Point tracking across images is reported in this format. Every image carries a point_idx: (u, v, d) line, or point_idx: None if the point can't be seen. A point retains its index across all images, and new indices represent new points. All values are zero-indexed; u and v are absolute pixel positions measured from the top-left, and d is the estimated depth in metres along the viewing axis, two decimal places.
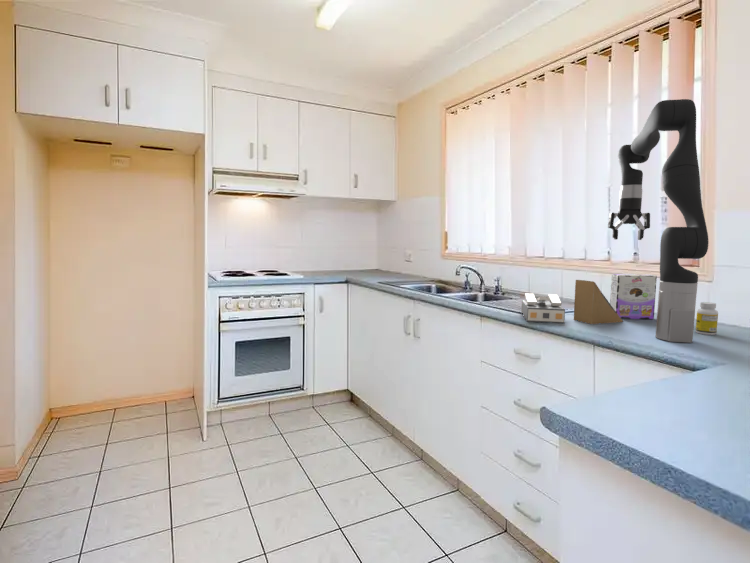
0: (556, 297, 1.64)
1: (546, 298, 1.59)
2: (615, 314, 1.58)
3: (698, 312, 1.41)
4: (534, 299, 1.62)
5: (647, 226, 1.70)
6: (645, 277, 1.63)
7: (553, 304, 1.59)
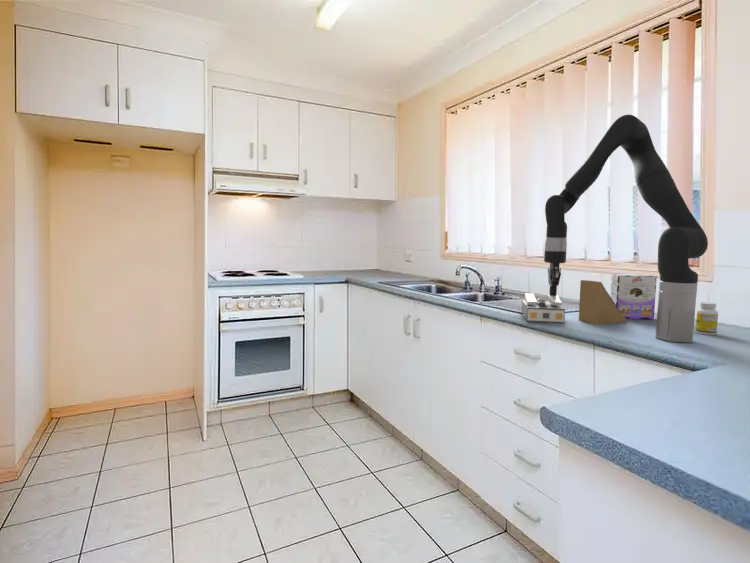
0: (556, 297, 1.64)
1: (546, 298, 1.59)
2: (619, 314, 1.58)
3: (698, 312, 1.41)
4: (534, 299, 1.62)
5: (555, 281, 1.69)
6: (645, 277, 1.63)
7: (553, 304, 1.59)
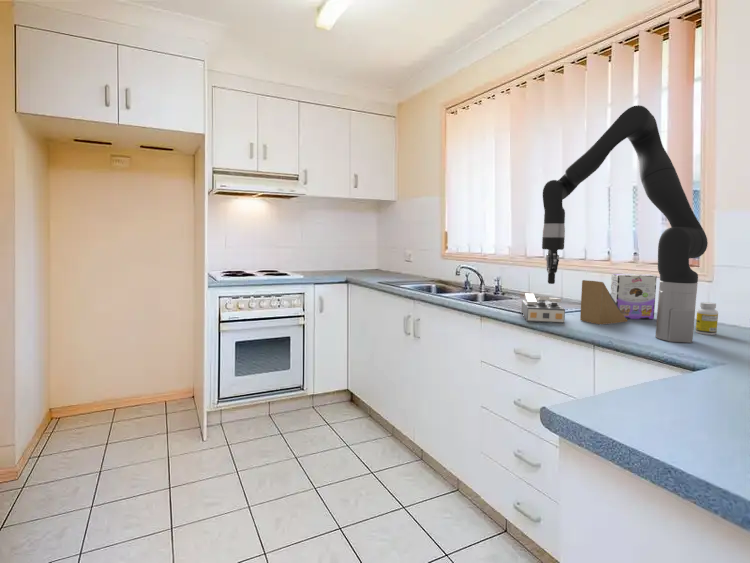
0: None
1: (546, 298, 1.59)
2: (621, 314, 1.58)
3: (698, 312, 1.41)
4: (534, 299, 1.62)
5: (554, 268, 1.65)
6: (645, 277, 1.63)
7: (553, 300, 1.59)
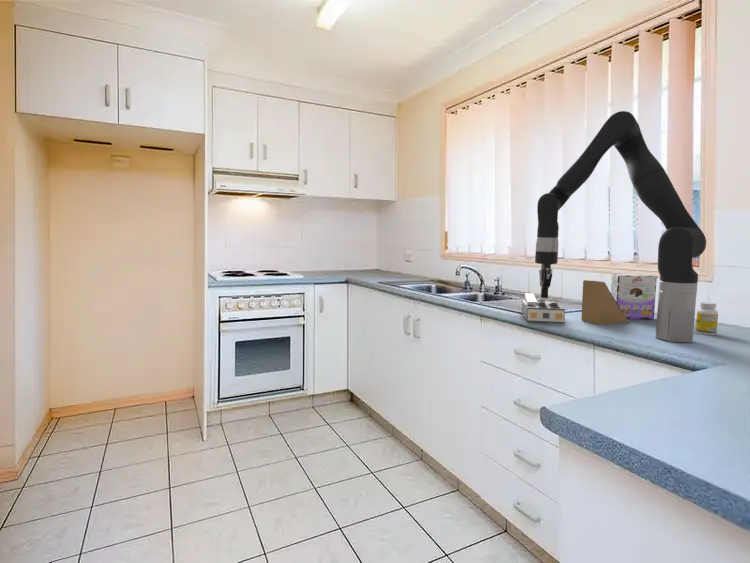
0: None
1: (546, 298, 1.59)
2: (622, 314, 1.58)
3: (698, 312, 1.41)
4: (534, 299, 1.62)
5: (547, 283, 1.62)
6: (645, 277, 1.63)
7: (553, 299, 1.59)
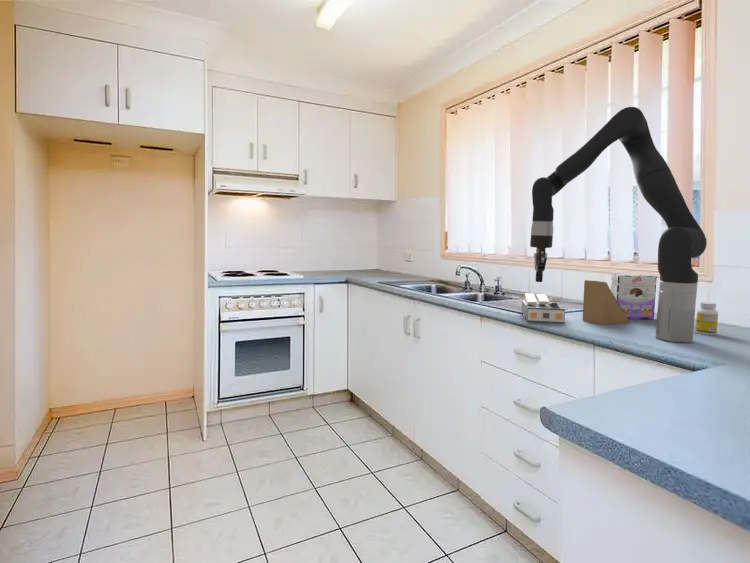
0: None
1: (546, 302, 1.59)
2: (623, 314, 1.58)
3: (698, 312, 1.41)
4: (534, 299, 1.62)
5: None
6: (645, 277, 1.63)
7: (553, 299, 1.59)
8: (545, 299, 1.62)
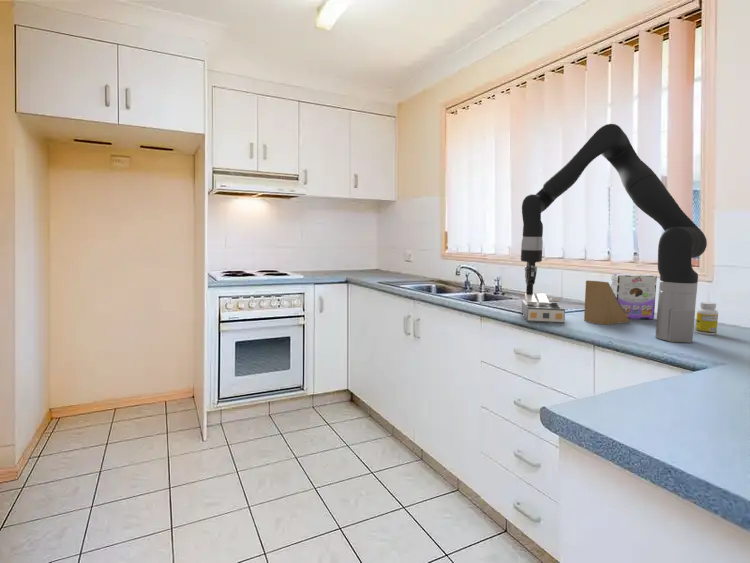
0: None
1: (546, 303, 1.59)
2: (624, 314, 1.58)
3: (698, 312, 1.41)
4: (534, 299, 1.62)
5: (532, 280, 1.70)
6: (645, 277, 1.63)
7: (553, 299, 1.59)
8: (545, 300, 1.62)
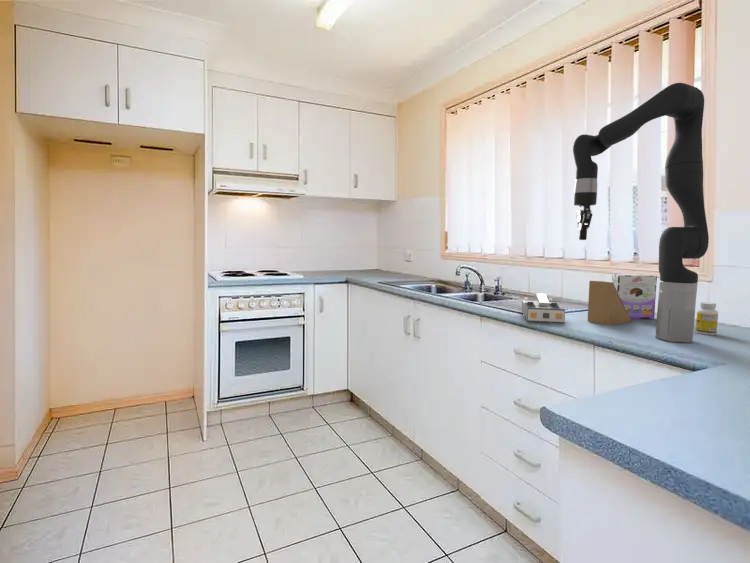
0: None
1: (546, 304, 1.59)
2: (626, 314, 1.58)
3: (698, 312, 1.41)
4: None
5: None
6: (645, 277, 1.63)
7: (553, 299, 1.59)
8: (545, 300, 1.62)
